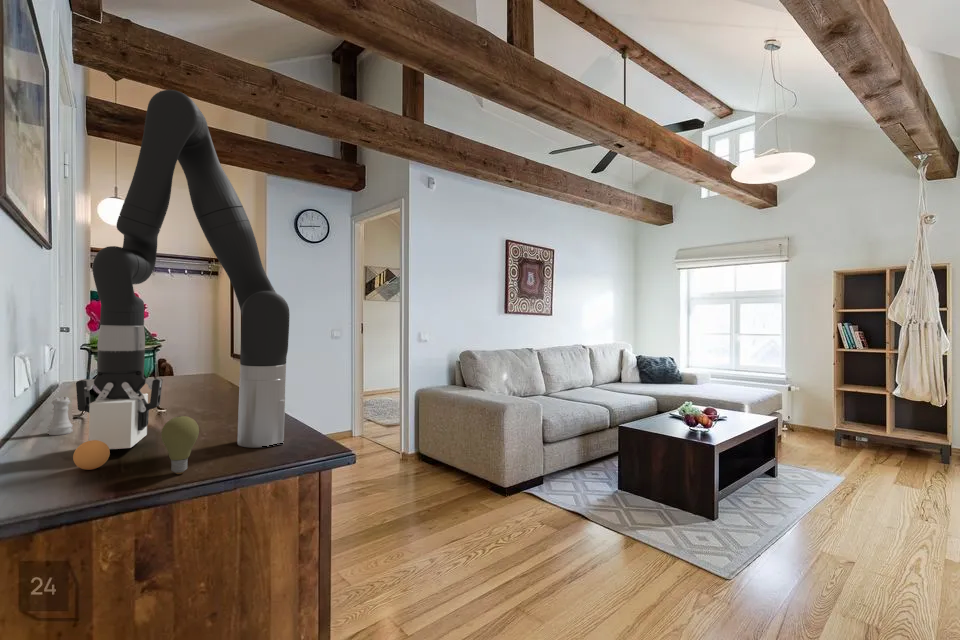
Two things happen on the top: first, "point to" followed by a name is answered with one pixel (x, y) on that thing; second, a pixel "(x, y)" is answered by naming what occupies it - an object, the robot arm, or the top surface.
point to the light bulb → (179, 441)
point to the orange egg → (91, 454)
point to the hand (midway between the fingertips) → (119, 430)
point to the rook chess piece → (60, 417)
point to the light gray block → (115, 422)
